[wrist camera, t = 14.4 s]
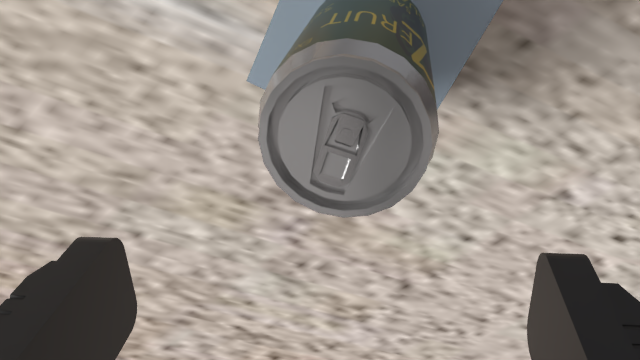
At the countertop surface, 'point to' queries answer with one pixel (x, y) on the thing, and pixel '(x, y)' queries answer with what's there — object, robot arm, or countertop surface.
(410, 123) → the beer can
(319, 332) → the countertop surface
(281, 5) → the slate-blue block
